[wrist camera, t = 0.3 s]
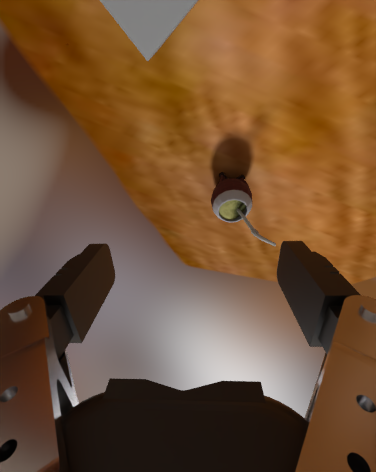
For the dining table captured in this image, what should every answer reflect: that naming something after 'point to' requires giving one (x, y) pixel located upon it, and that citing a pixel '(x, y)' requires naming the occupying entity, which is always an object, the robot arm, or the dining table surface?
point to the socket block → (148, 20)
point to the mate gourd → (234, 202)
